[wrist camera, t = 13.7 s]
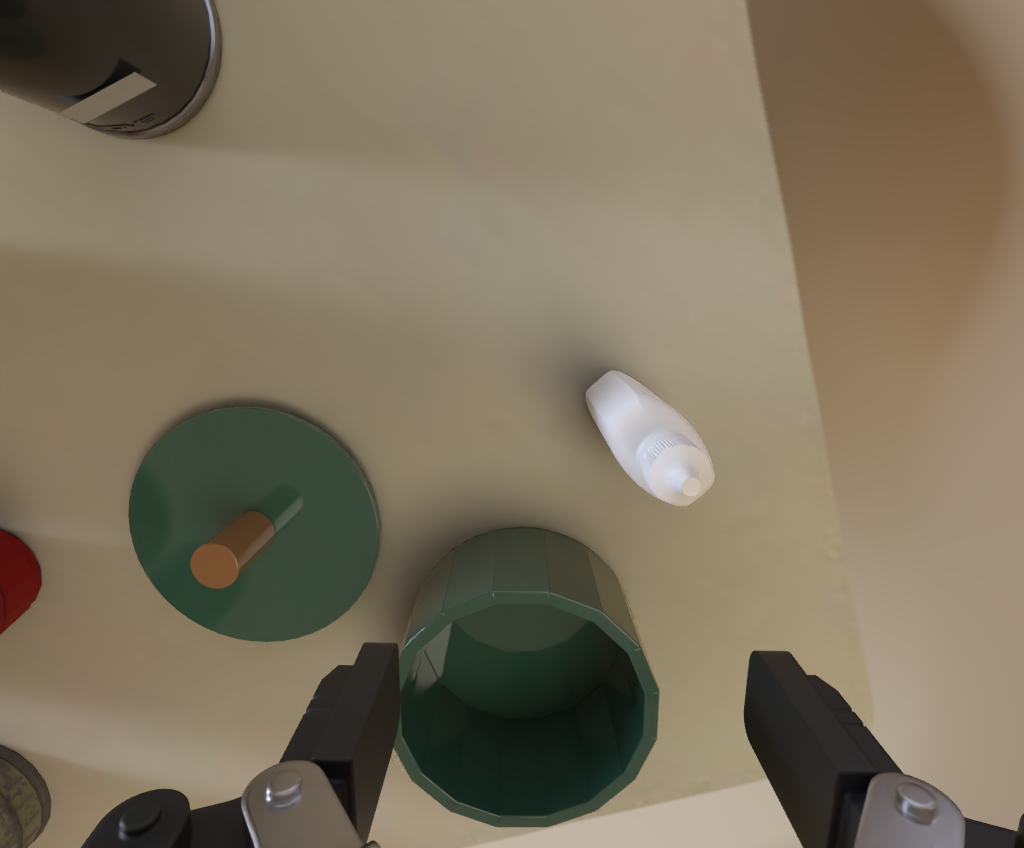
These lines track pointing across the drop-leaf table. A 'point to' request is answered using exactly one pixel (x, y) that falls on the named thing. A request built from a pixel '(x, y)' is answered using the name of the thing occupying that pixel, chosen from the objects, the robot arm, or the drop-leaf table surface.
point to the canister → (524, 682)
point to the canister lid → (254, 523)
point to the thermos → (21, 801)
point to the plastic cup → (16, 579)
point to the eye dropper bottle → (650, 439)
